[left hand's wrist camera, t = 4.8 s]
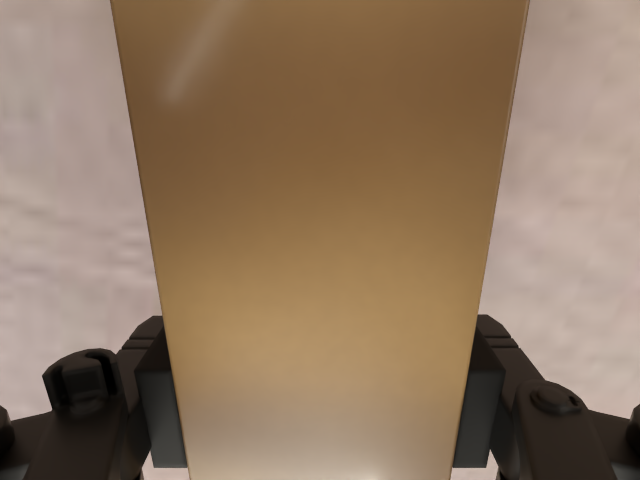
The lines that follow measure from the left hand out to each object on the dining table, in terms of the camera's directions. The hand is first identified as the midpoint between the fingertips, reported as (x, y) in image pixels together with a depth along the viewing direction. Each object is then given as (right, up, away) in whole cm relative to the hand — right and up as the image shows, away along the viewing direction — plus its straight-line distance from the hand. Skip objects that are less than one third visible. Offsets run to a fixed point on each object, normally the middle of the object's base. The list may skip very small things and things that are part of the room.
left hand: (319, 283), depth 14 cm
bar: (0, +19, -7) cm, 20 cm away
